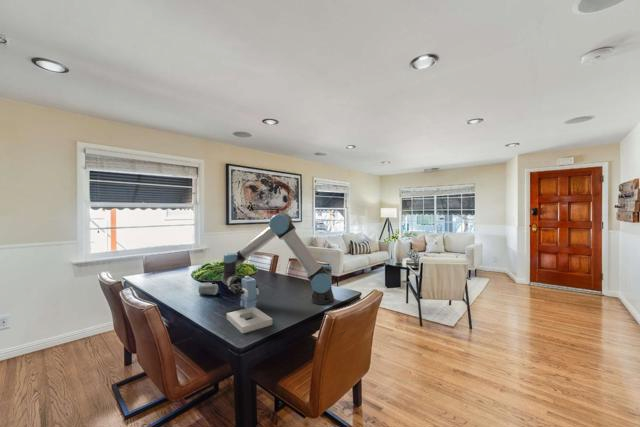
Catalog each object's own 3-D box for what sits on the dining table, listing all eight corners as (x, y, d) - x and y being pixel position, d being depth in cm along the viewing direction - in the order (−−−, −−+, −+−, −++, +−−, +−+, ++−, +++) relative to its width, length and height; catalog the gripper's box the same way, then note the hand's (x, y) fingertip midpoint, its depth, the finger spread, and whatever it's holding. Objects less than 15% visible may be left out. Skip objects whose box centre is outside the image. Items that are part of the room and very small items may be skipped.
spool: (193, 291, 183) (200, 277, 187) (201, 293, 192) (208, 280, 195) (208, 298, 179) (215, 284, 182) (216, 300, 187) (223, 286, 191)
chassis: (272, 324, 138) (272, 318, 138) (242, 333, 128) (242, 327, 128) (254, 311, 156) (254, 306, 155) (226, 318, 146) (226, 313, 146)
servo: (257, 307, 139) (257, 278, 139) (246, 310, 135) (246, 280, 135) (248, 301, 148) (248, 274, 147) (238, 304, 144) (238, 276, 144)
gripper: (250, 286, 161) (268, 296, 143) (220, 292, 150) (235, 304, 132) (250, 274, 161) (268, 282, 143) (220, 278, 150) (235, 288, 132)
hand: (252, 293), depth 138 cm, fingers closed on servo, 5 cm apart
